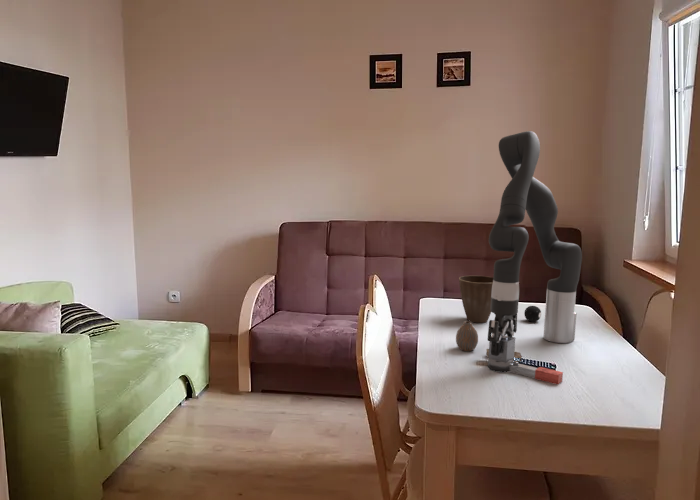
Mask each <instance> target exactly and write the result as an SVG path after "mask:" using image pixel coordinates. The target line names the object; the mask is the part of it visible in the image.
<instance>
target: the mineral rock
mask: <svg viewBox="0 0 700 500" xmlns="http://www.w3.org/2000/svg"><path fill="white" fill-rule="evenodd" d="M485 355H486V356H487V358H488V357H489V348H486V351H485ZM514 357H515V358H520V359H521V358H522V357H523V356H522V354H521V352H518V351H514ZM522 359H523V358H522Z"/></svg>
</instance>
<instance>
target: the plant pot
mask: <svg viewBox="0 0 700 500" xmlns="http://www.w3.org/2000/svg"><path fill="white" fill-rule="evenodd" d="M458 281H459V291H460V298H461V302H462V305H463V306H462V307H463V310H464V313H465V317H466V321H467V322H471V323H478V324H484V323H487V322H489V320H490V316H491V315H492V312H491V294H492V285H493V276H492V277H491V276H485V275H464V276H459V278H458Z"/></svg>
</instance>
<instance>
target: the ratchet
mask: <svg viewBox="0 0 700 500" xmlns="http://www.w3.org/2000/svg"><path fill="white" fill-rule="evenodd" d="M487 359H488V362H487V368H488V369H489V370H491V371H493V372H497V373H513V374H517V375H519V376H523V377H529V378H533V379H535V380H538V381H543V382H545V383H549V384H553V385H557V386H558V385H559V384H561V383H563V378H564V372H563V371H559V370H555V369H551V368H547V367H544V366H543V367H542V366H539V367H535V366H531V365H527V364H523V363H519V362H520V361H514V359H511V360H510V361H508V362H502V361H498V360H494V359H490V358H488V357H487ZM513 361H514V362H513Z"/></svg>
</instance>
